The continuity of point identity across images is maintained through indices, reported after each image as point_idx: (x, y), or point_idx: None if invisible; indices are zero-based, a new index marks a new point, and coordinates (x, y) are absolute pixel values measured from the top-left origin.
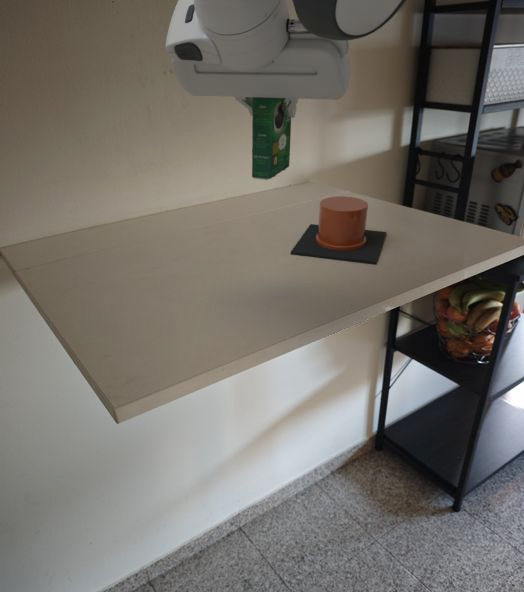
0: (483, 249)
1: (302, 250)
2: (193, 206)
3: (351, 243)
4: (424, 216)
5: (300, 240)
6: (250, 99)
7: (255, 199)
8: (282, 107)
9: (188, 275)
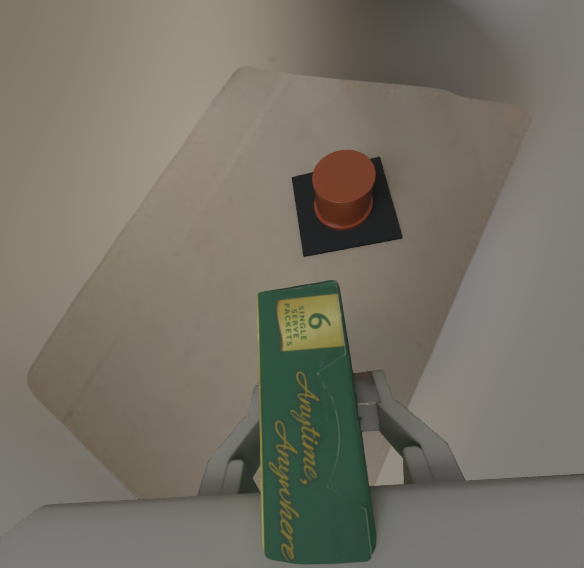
0: (497, 144)
1: (314, 246)
2: (150, 190)
3: (363, 216)
4: (399, 92)
5: (300, 223)
6: (259, 443)
7: (204, 140)
8: (363, 426)
9: (227, 354)
